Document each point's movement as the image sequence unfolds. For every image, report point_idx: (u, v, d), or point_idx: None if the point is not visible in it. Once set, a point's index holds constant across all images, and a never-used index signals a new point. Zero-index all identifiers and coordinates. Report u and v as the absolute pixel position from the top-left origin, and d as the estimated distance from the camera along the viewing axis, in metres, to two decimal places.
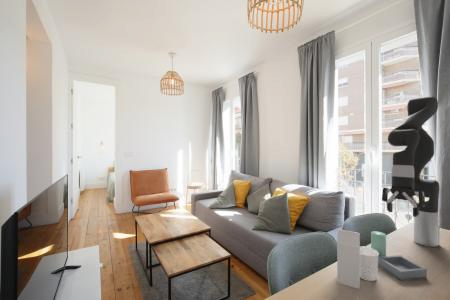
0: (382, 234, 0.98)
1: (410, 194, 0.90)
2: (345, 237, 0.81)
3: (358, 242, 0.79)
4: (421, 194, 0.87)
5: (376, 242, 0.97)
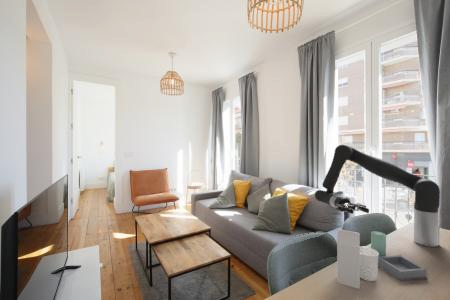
0: (382, 234, 0.98)
1: None
2: (345, 237, 0.81)
3: (357, 242, 0.79)
4: (336, 208, 1.18)
5: (376, 242, 0.97)
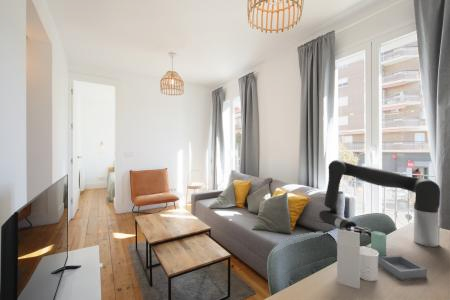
0: (382, 234, 0.98)
1: None
2: (345, 237, 0.81)
3: (357, 242, 0.79)
4: None
5: (376, 242, 0.97)
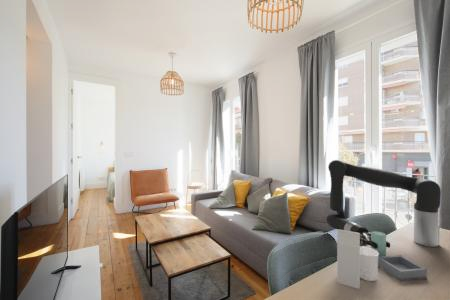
0: (382, 234, 0.98)
1: None
2: (345, 237, 0.81)
3: (357, 242, 0.79)
4: None
5: (376, 242, 0.97)
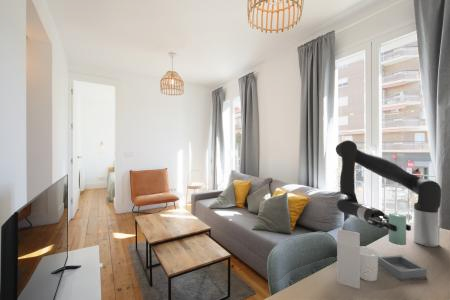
0: (402, 216, 0.88)
1: None
2: (345, 237, 0.81)
3: (357, 242, 0.79)
4: None
5: (395, 225, 0.87)
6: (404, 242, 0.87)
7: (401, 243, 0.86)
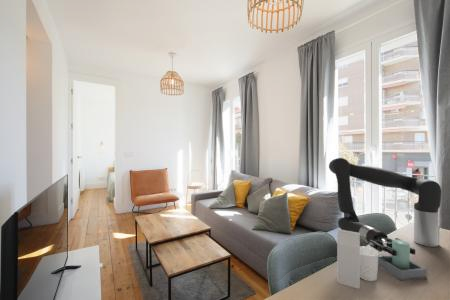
0: (405, 243, 0.87)
1: None
2: (345, 237, 0.81)
3: (358, 242, 0.79)
4: (371, 246, 0.95)
5: (398, 252, 0.86)
6: None
7: None
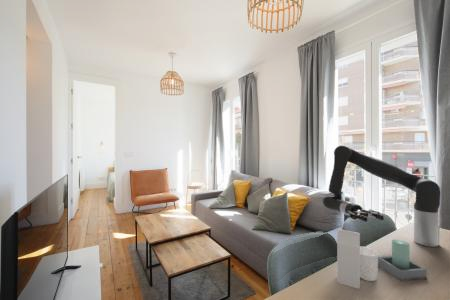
0: (405, 243, 0.87)
1: None
2: (345, 237, 0.81)
3: (358, 242, 0.79)
4: None
5: (398, 252, 0.86)
6: None
7: None
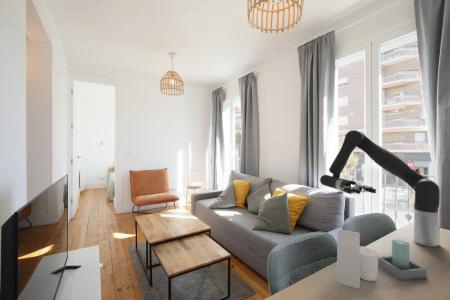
0: (405, 243, 0.87)
1: None
2: (345, 237, 0.81)
3: (357, 242, 0.79)
4: (343, 190, 1.17)
5: (398, 252, 0.86)
6: None
7: None
